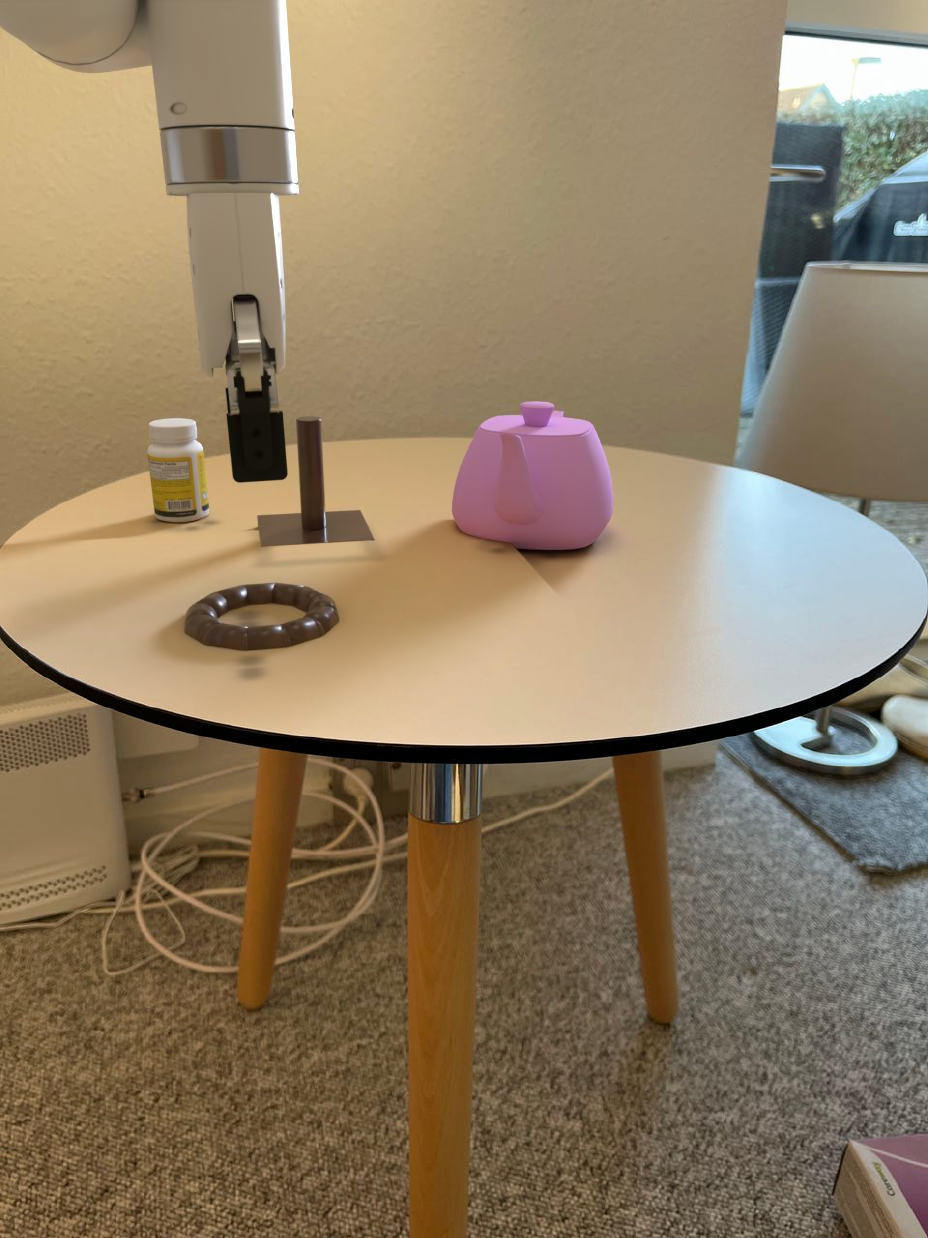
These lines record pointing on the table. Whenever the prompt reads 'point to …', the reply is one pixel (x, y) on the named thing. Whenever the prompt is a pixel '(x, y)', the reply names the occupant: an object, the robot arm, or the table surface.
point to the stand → (312, 502)
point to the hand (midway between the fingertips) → (257, 461)
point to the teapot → (534, 481)
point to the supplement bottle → (177, 471)
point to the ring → (217, 634)
